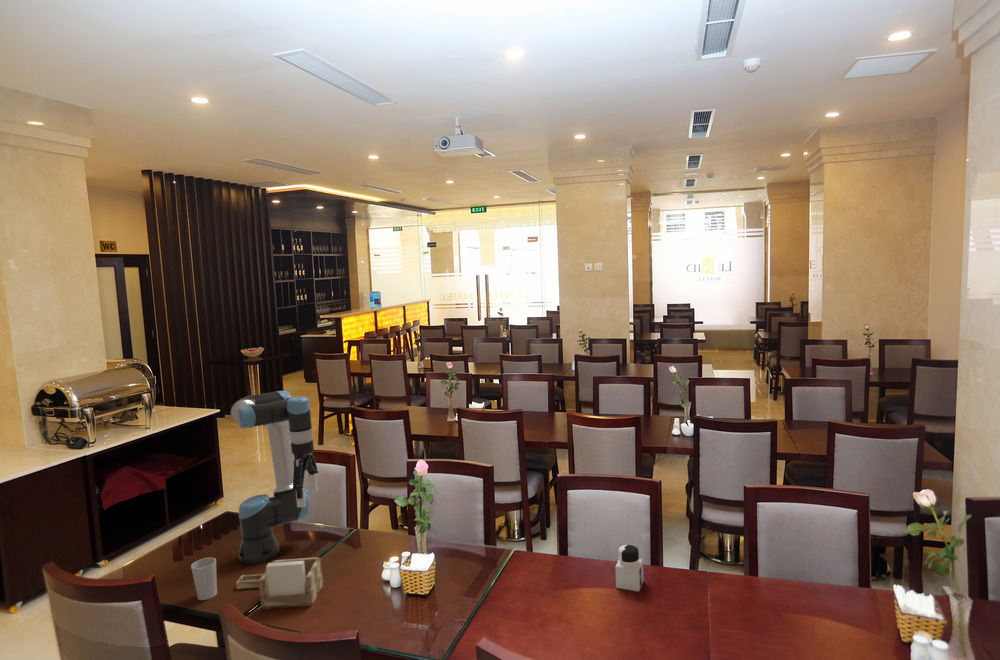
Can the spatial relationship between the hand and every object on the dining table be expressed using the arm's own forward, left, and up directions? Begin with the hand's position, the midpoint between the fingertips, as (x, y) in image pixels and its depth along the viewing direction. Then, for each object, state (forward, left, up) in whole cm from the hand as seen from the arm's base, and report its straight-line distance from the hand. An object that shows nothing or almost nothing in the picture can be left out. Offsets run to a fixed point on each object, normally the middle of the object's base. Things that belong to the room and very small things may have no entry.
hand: (307, 499), depth 209 cm
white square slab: (+12, -6, -31) cm, 33 cm away
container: (+17, +110, -32) cm, 116 cm away
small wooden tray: (-2, -21, -32) cm, 38 cm away
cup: (+3, -38, -32) cm, 49 cm away
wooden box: (+8, -6, -32) cm, 33 cm away
